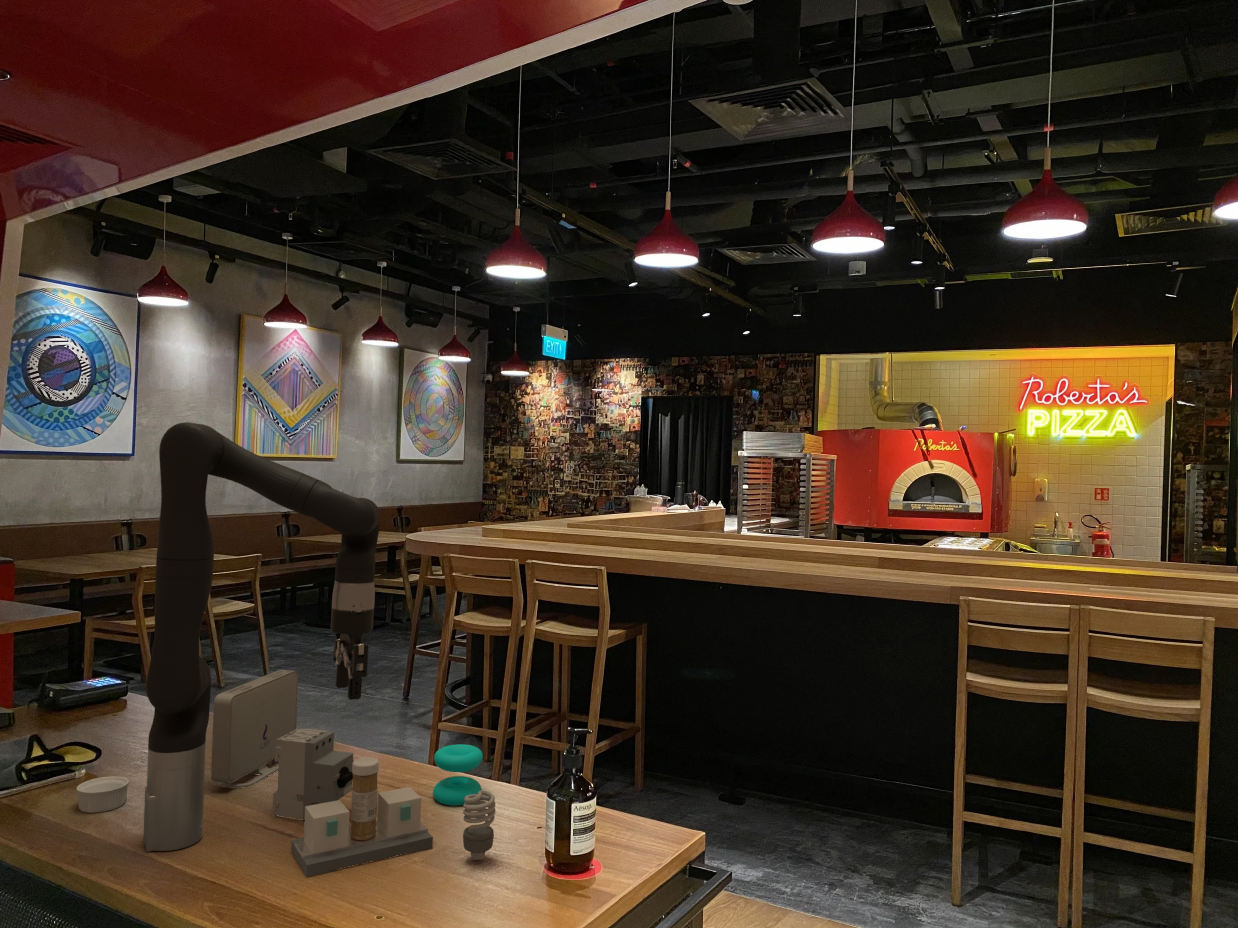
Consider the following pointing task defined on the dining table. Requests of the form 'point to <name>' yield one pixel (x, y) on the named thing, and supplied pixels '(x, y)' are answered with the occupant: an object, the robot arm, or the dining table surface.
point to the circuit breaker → (309, 772)
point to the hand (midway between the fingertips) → (347, 692)
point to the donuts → (457, 761)
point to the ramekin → (102, 794)
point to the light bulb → (479, 835)
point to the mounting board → (361, 853)
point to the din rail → (355, 842)
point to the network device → (252, 726)
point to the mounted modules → (332, 819)
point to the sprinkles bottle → (364, 798)
